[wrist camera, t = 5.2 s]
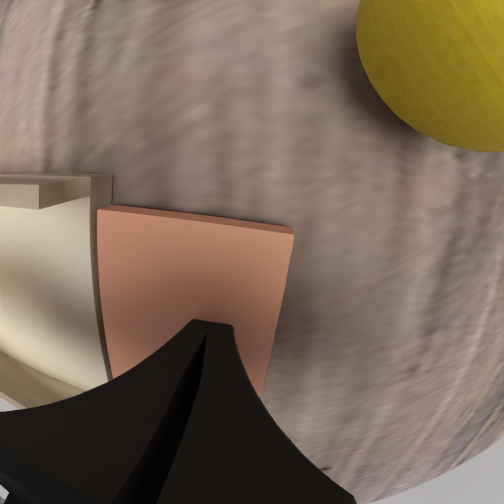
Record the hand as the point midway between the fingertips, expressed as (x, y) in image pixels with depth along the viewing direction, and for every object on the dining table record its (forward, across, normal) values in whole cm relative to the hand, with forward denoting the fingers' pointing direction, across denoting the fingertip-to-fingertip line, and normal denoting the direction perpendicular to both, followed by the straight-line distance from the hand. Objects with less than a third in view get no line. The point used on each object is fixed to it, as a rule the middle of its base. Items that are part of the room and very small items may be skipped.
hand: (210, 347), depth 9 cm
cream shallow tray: (+2, +10, 0) cm, 10 cm away
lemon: (+2, -5, -10) cm, 11 cm away
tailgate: (0, +4, 0) cm, 4 cm away
